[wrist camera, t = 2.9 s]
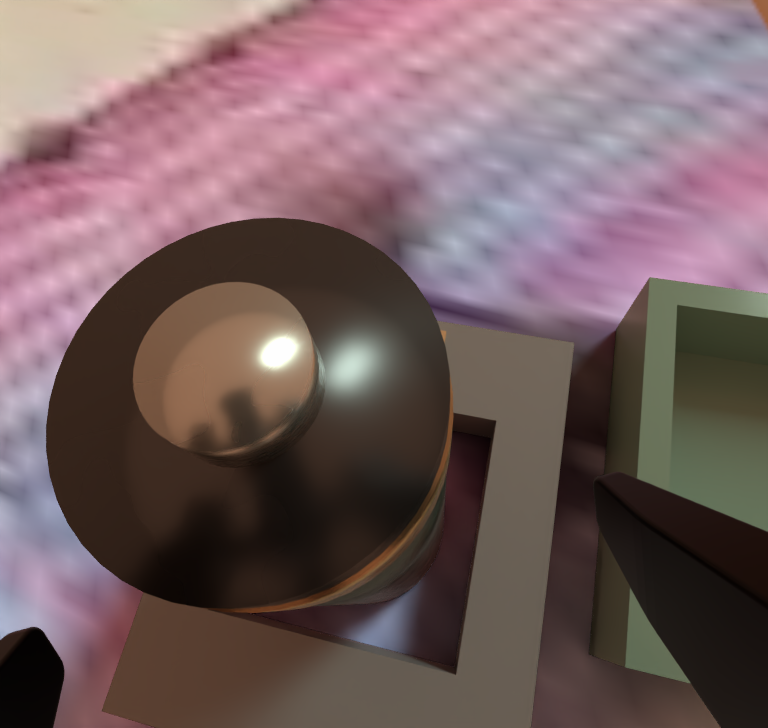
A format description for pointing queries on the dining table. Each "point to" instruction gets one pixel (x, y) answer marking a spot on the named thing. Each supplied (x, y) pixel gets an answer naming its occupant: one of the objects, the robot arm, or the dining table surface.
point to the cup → (683, 432)
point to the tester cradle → (370, 663)
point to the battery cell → (257, 422)
